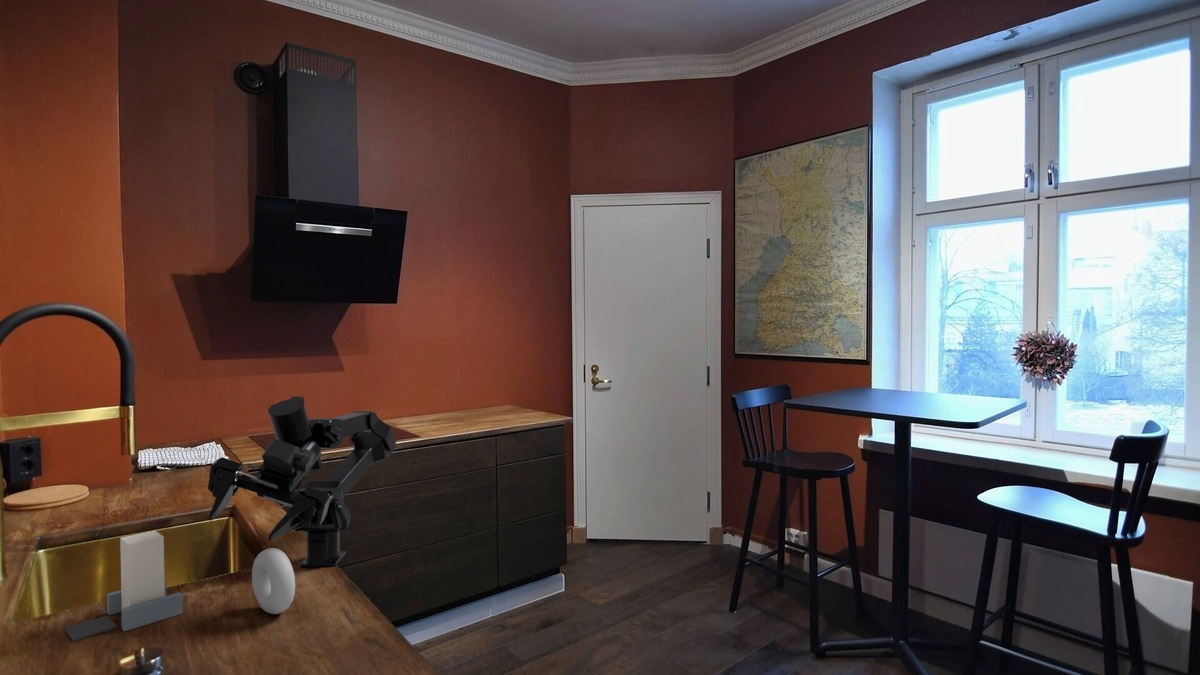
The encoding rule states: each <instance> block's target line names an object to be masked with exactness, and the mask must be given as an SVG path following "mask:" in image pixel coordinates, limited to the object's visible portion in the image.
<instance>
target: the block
mask: <svg viewBox="0 0 1200 675" xmlns="http://www.w3.org/2000/svg"><path fill="white" fill-rule="evenodd" d="M164 540H165V538H164V535H162V534H161V533H159V532H158V531H156V530H152V531H146V532H142V533H137V534H133V535H127V536H121V537H120V540H119V542H120V546H119V548H120V588H121V589H120V590H121V600H122V608H126V607H129V606H133V605H136V604H140V603H143V602H147V601H151V600H154V599H158V598H161V597H165V583H164V580H165V542H164Z"/></svg>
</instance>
